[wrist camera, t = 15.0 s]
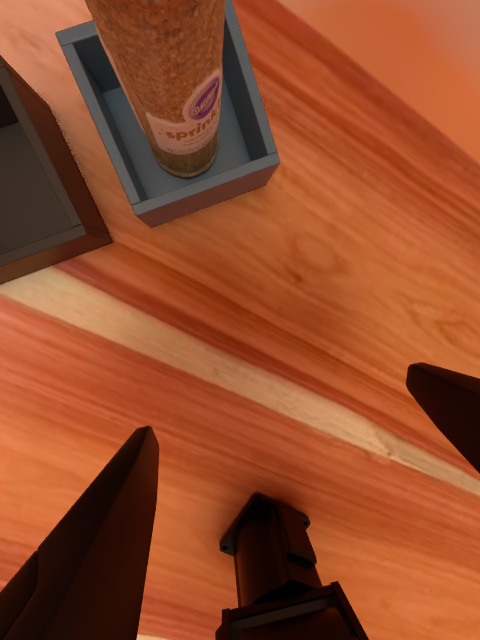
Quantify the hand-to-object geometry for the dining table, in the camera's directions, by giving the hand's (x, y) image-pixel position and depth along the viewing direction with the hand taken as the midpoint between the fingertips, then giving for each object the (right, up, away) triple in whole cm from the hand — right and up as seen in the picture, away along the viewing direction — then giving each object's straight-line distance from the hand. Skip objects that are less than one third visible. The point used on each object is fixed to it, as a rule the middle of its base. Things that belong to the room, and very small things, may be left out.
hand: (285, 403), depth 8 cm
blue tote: (-5, +15, +8) cm, 18 cm away
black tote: (-16, +11, +8) cm, 21 cm away
